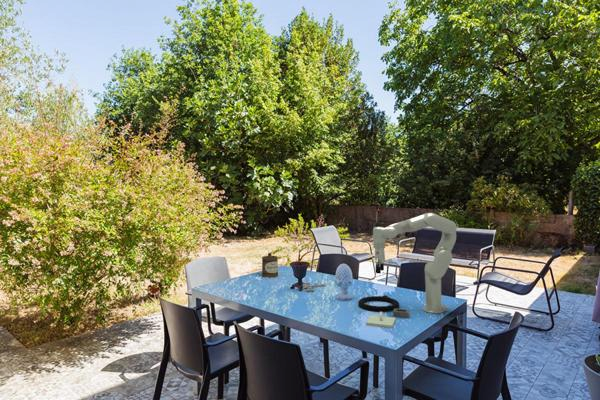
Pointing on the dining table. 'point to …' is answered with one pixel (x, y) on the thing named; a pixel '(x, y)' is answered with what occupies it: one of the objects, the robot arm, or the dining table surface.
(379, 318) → the keeper board
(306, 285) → the pulley system
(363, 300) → the cable lock
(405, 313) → the grey rectangular frame
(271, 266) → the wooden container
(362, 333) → the dining table surface
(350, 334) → the dining table surface
